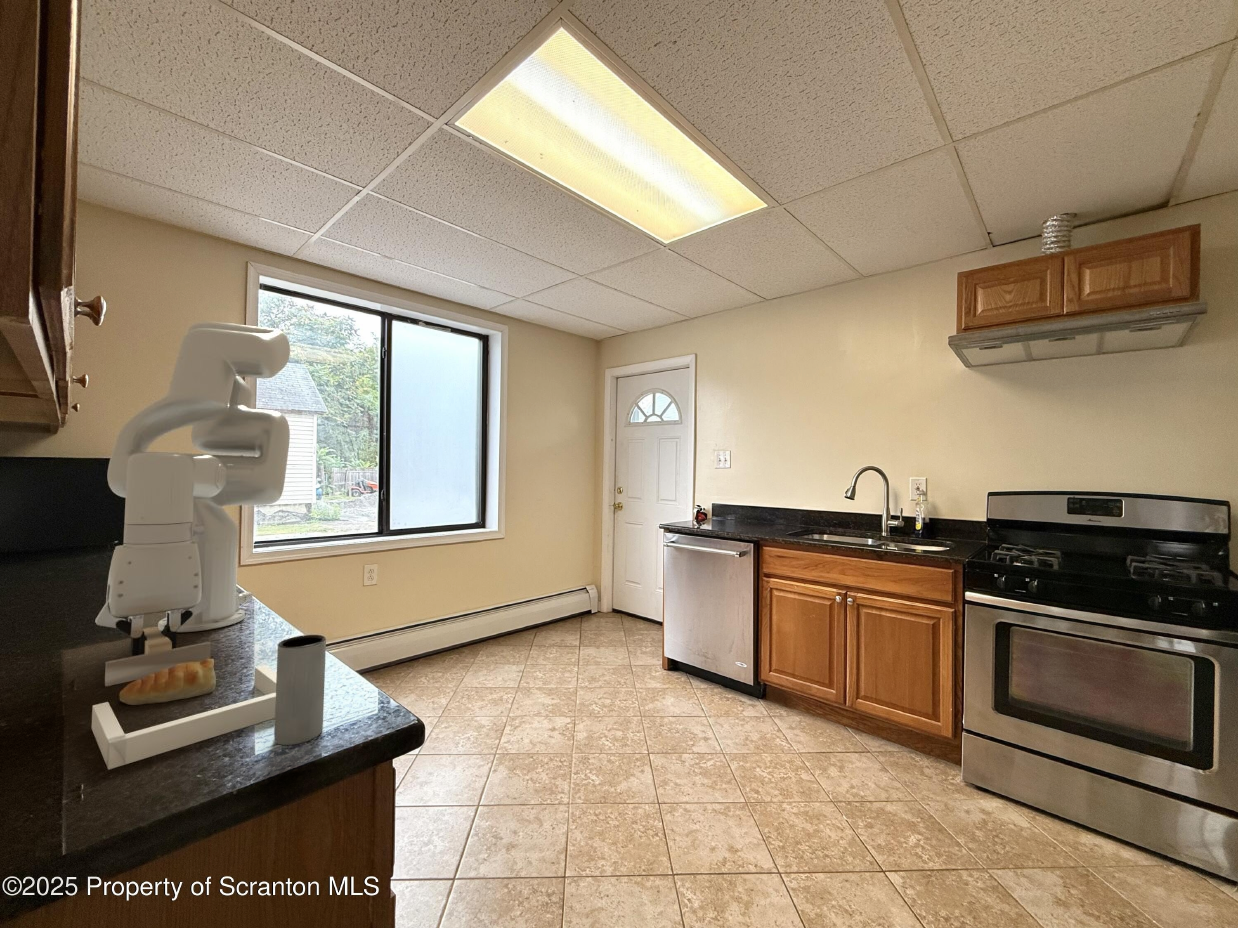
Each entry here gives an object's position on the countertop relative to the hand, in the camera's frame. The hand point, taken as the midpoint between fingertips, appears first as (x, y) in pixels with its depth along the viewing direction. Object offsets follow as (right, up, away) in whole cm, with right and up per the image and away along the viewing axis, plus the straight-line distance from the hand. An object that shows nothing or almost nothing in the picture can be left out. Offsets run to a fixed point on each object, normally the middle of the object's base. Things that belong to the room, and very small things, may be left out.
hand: (153, 658), depth 75 cm
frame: (+20, -1, -16) cm, 25 cm away
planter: (+34, -1, -19) cm, 39 cm away
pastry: (+12, -1, -9) cm, 15 cm away
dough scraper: (-1, -1, 0) cm, 1 cm away
